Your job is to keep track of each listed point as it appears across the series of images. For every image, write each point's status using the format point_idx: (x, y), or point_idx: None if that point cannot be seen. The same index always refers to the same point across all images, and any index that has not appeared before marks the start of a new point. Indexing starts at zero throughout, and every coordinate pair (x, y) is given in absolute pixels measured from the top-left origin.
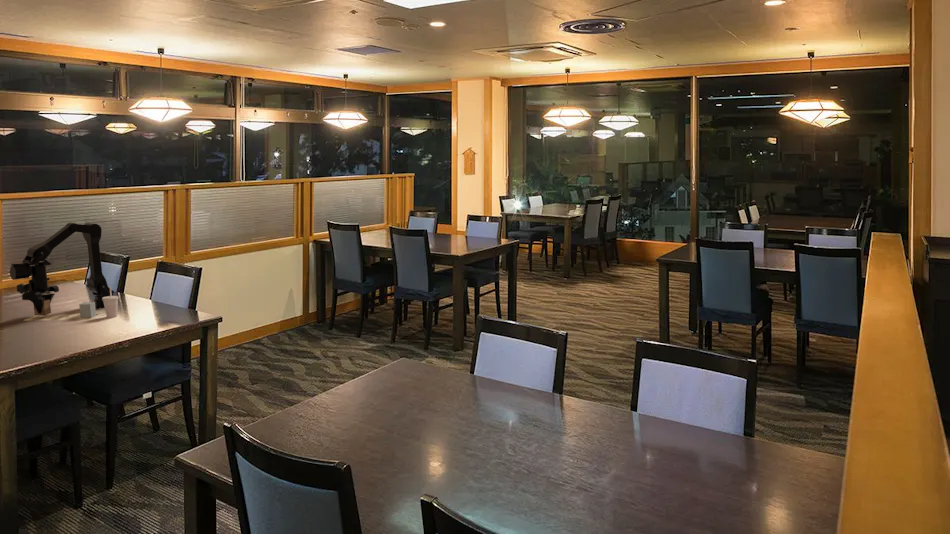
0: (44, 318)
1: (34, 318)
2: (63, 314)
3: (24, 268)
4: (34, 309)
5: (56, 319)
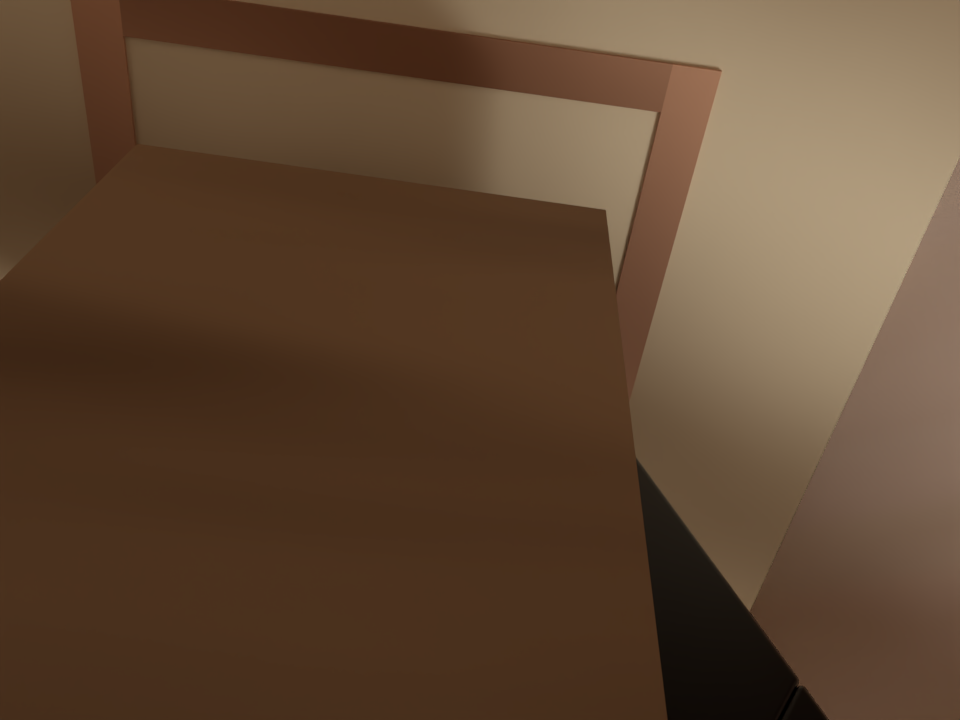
0: None
1: (180, 78)
2: None
3: None
4: (2, 303)
5: None
